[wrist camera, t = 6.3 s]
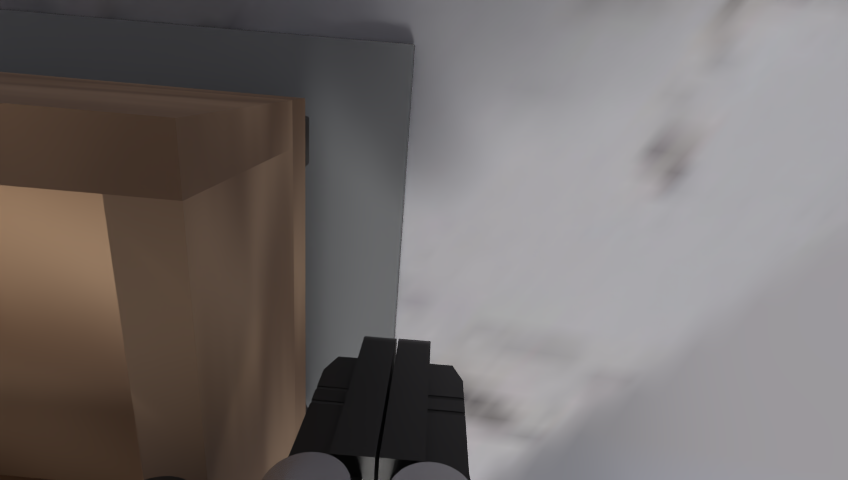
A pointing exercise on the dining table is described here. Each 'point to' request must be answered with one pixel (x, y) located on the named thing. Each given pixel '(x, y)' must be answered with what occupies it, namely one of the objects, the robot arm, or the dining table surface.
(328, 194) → the gray mat
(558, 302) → the dining table surface
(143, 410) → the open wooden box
